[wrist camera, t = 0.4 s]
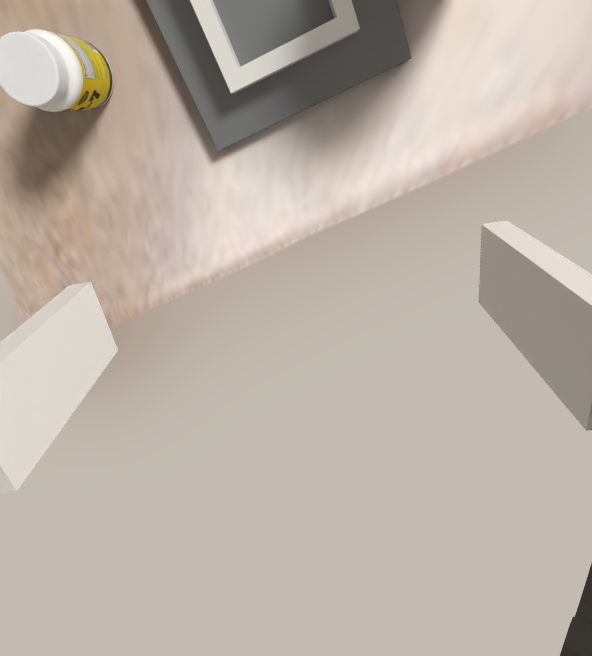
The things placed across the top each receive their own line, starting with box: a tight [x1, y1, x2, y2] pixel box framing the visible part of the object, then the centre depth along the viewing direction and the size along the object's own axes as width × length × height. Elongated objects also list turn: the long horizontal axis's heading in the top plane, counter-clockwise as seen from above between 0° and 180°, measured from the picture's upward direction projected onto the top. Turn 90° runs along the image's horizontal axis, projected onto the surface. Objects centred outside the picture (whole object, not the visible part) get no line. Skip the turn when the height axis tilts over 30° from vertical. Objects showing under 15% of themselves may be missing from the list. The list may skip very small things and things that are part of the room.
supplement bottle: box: [0, 29, 114, 112], centre depth 31 cm, size 5×5×8 cm
